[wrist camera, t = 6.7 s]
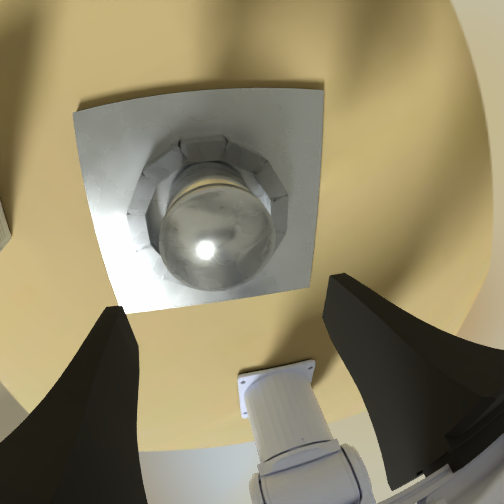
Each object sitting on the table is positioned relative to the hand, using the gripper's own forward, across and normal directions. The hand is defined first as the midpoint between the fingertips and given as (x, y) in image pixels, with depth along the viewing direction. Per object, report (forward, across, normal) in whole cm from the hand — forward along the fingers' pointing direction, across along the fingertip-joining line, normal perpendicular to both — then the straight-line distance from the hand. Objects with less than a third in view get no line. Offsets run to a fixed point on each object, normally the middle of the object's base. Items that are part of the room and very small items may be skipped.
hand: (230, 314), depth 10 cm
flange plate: (+9, 0, 0) cm, 9 cm away
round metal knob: (+9, 0, -1) cm, 9 cm away
